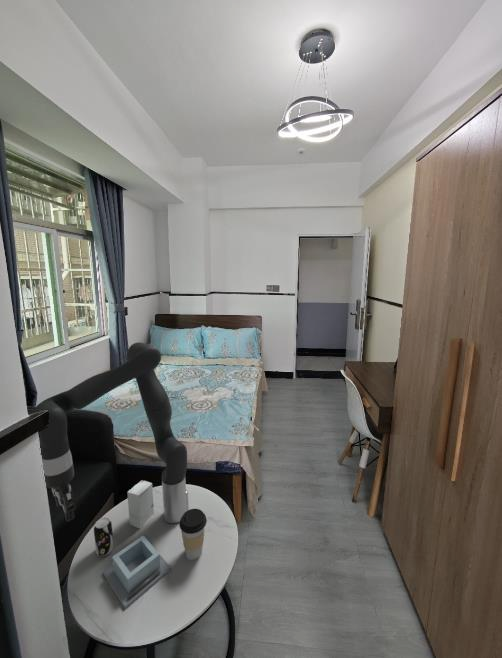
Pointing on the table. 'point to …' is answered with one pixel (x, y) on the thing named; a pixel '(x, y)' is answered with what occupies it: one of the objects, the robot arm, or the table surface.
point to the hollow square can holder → (135, 570)
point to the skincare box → (140, 504)
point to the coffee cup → (193, 532)
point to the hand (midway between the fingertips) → (65, 512)
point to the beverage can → (103, 536)
